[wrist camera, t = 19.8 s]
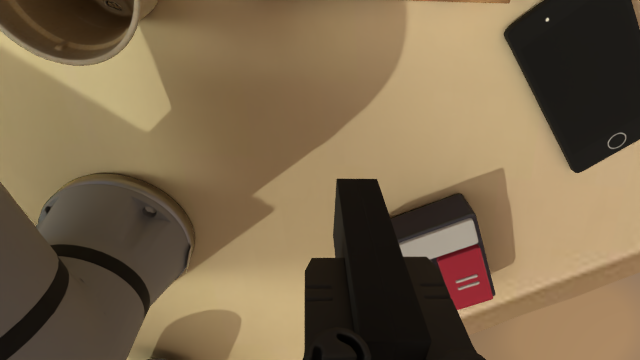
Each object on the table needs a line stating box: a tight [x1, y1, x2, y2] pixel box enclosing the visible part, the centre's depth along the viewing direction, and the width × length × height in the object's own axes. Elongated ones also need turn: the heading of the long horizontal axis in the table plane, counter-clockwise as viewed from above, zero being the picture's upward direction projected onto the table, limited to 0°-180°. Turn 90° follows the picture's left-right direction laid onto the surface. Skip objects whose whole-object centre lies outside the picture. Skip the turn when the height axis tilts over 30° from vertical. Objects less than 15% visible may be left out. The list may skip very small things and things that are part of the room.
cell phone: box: [504, 0, 640, 173], centre depth 31 cm, size 9×18×1 cm, turn 40°
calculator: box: [391, 194, 495, 310], centre depth 41 cm, size 11×4×15 cm
